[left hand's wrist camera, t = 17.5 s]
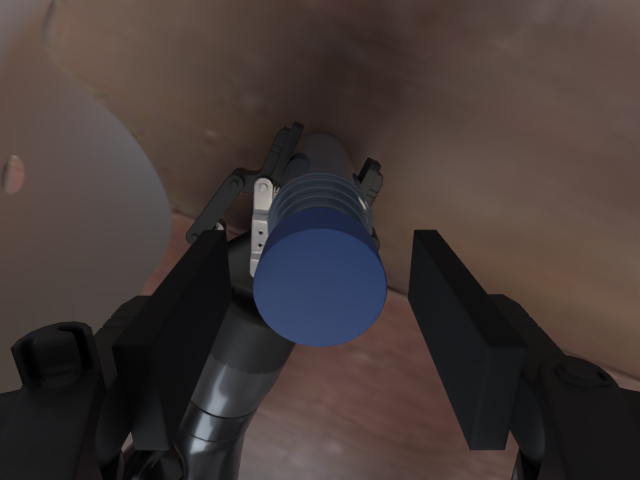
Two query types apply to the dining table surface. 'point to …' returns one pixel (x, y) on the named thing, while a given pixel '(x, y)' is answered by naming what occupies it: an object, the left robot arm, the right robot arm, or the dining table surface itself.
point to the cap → (319, 278)
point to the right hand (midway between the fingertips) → (336, 144)
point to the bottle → (319, 182)
